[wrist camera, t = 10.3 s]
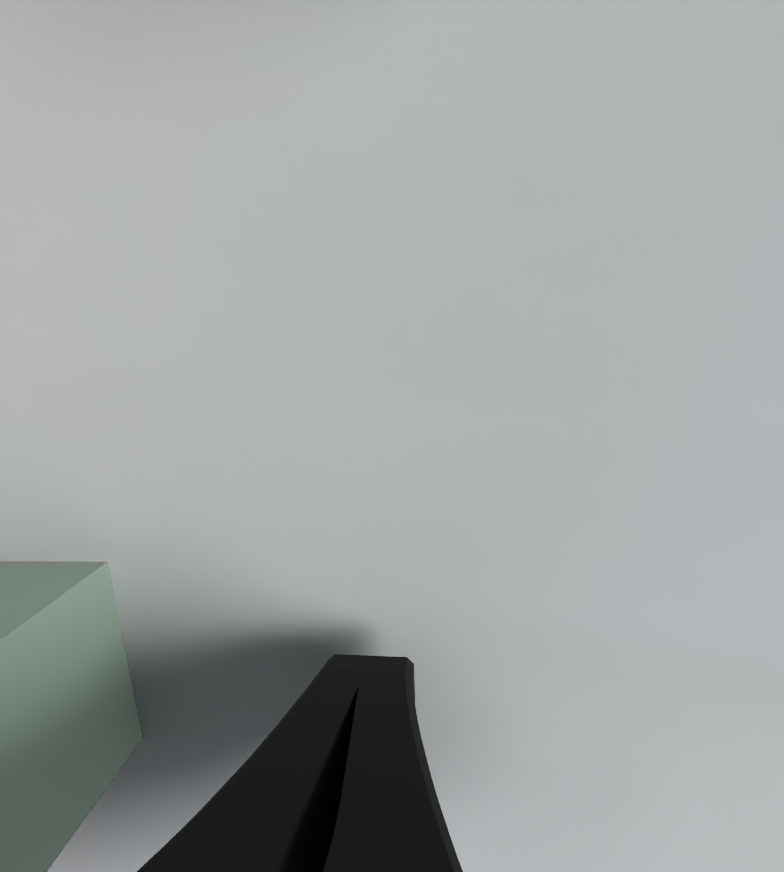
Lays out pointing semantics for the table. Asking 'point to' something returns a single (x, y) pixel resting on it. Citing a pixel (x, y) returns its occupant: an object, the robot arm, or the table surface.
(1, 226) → the table surface
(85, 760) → the sage block
